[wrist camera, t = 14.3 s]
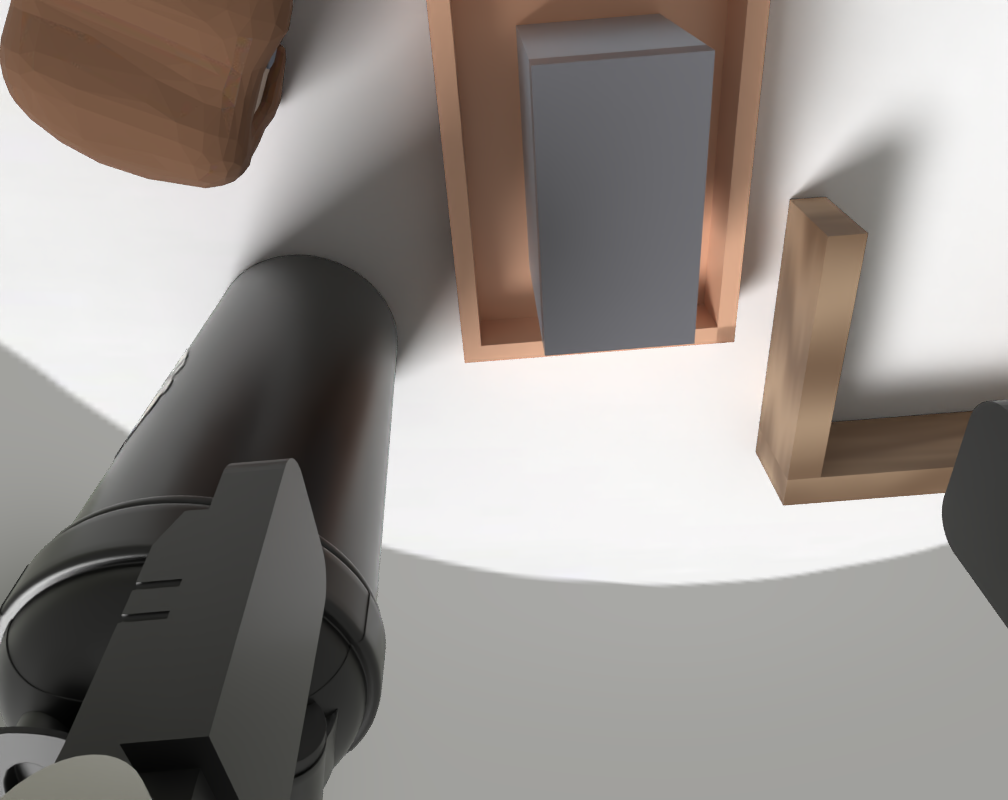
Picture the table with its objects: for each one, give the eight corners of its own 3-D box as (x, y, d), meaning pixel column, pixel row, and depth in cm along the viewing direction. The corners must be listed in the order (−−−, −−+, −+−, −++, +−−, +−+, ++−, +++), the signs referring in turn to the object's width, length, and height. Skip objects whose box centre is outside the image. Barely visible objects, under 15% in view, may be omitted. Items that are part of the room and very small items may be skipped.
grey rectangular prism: (516, 25, 30) (531, 65, 24) (659, 13, 30) (715, 50, 24) (529, 267, 36) (544, 355, 29) (651, 257, 36) (694, 343, 29)
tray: (423, -70, 29) (419, -65, 27) (752, -95, 29) (780, -93, 27) (464, 331, 38) (464, 362, 36) (716, 311, 38) (733, 341, 36)
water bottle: (193, 221, 35) (-143, 645, 15) (426, 253, 36) (386, 681, 17) (202, 413, 40) (-39, 904, 21) (405, 435, 41) (355, 917, 22)
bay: (789, 199, 35) (828, 236, 32) (1176, 169, 35) (1259, 203, 32) (755, 452, 43) (783, 505, 39) (1073, 427, 43) (1130, 478, 39)
